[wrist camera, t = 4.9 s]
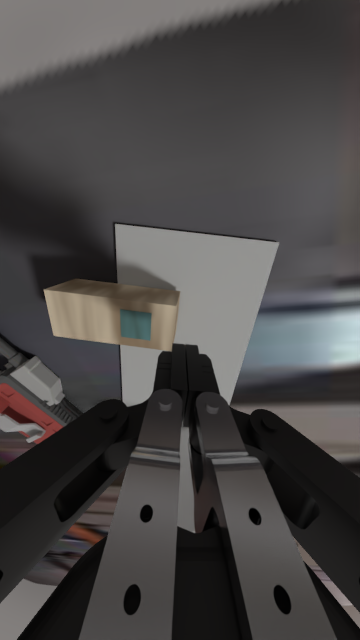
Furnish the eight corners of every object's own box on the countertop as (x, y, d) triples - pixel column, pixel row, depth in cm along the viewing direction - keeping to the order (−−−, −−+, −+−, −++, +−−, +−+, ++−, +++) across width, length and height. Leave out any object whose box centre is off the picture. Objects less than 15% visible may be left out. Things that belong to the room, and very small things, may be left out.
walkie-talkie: (106, 414, 26) (-24, 296, 18) (92, 447, 21) (-82, 313, 14) (61, 434, 27) (-74, 335, 20) (40, 468, 23) (-137, 360, 16)
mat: (277, 242, 16) (279, 242, 16) (210, 463, 30) (210, 465, 30) (116, 224, 15) (115, 223, 15) (125, 458, 29) (125, 460, 29)
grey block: (194, 428, 26) (203, 532, 17) (191, 445, 28) (197, 548, 18) (166, 426, 26) (159, 530, 17) (164, 443, 27) (157, 547, 18)
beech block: (176, 306, 13) (43, 289, 13) (171, 351, 15) (53, 336, 15) (180, 291, 17) (75, 278, 17) (176, 329, 18) (81, 316, 19)
